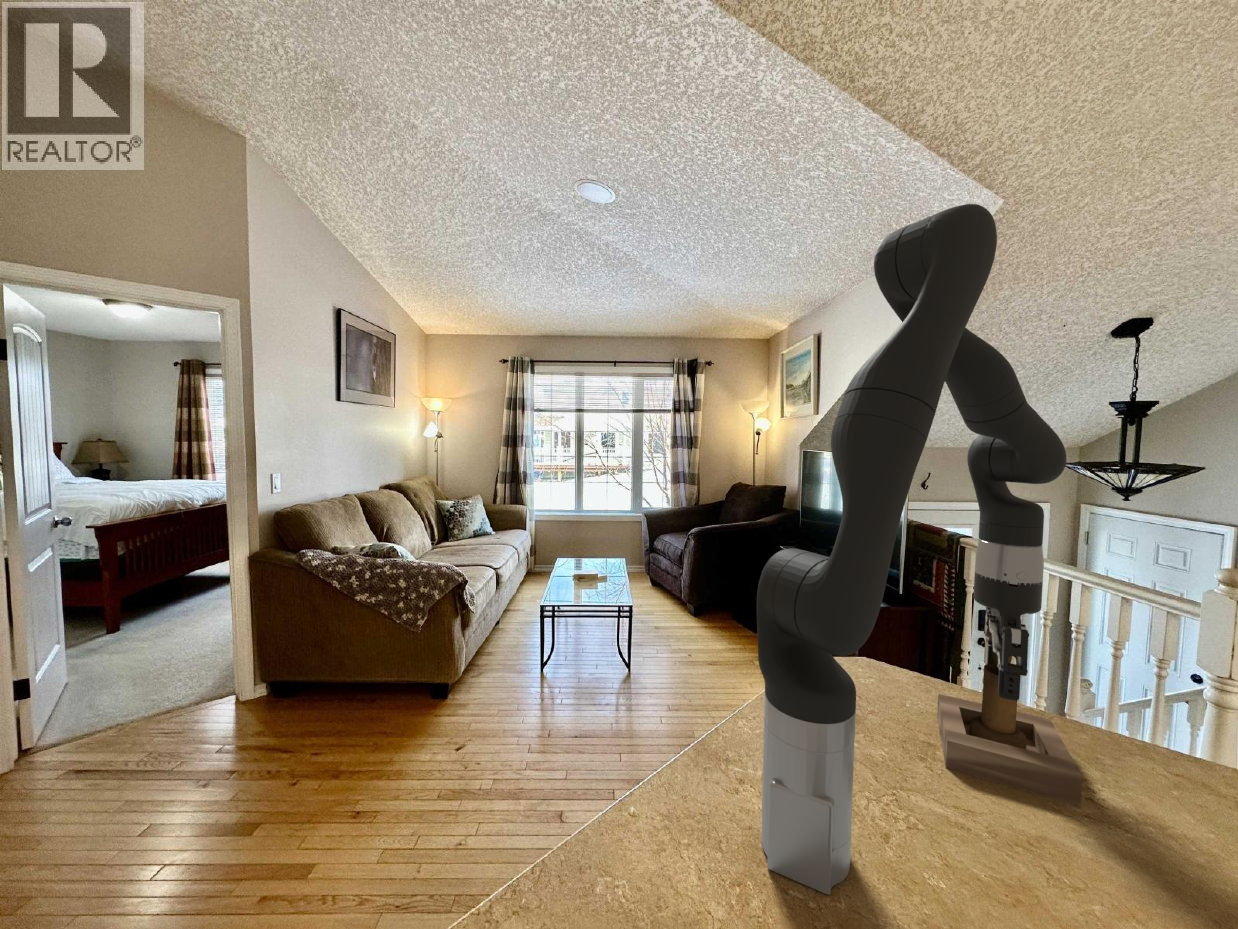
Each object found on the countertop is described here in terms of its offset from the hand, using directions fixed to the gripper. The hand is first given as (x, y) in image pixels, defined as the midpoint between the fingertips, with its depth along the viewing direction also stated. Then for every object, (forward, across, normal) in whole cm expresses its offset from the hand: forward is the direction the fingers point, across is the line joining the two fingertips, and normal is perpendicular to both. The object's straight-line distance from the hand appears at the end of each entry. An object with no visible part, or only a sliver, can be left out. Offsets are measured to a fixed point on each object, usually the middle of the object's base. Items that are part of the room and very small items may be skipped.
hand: (1001, 684), depth 69 cm
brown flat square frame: (+11, 0, 0) cm, 11 cm away
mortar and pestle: (+9, 0, 0) cm, 9 cm away
